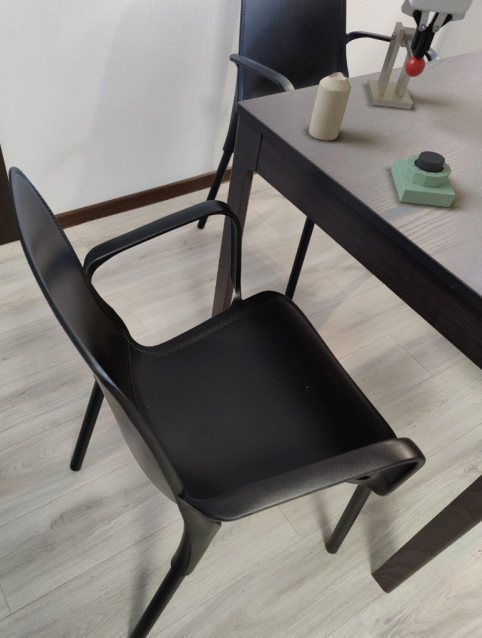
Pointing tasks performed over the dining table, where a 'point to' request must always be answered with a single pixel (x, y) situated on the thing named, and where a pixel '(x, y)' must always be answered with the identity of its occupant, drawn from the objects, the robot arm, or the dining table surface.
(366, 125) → the dining table surface
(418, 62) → the lever
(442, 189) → the button box
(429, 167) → the button
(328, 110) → the candle
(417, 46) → the robot arm
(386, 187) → the dining table surface
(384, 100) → the bracket
